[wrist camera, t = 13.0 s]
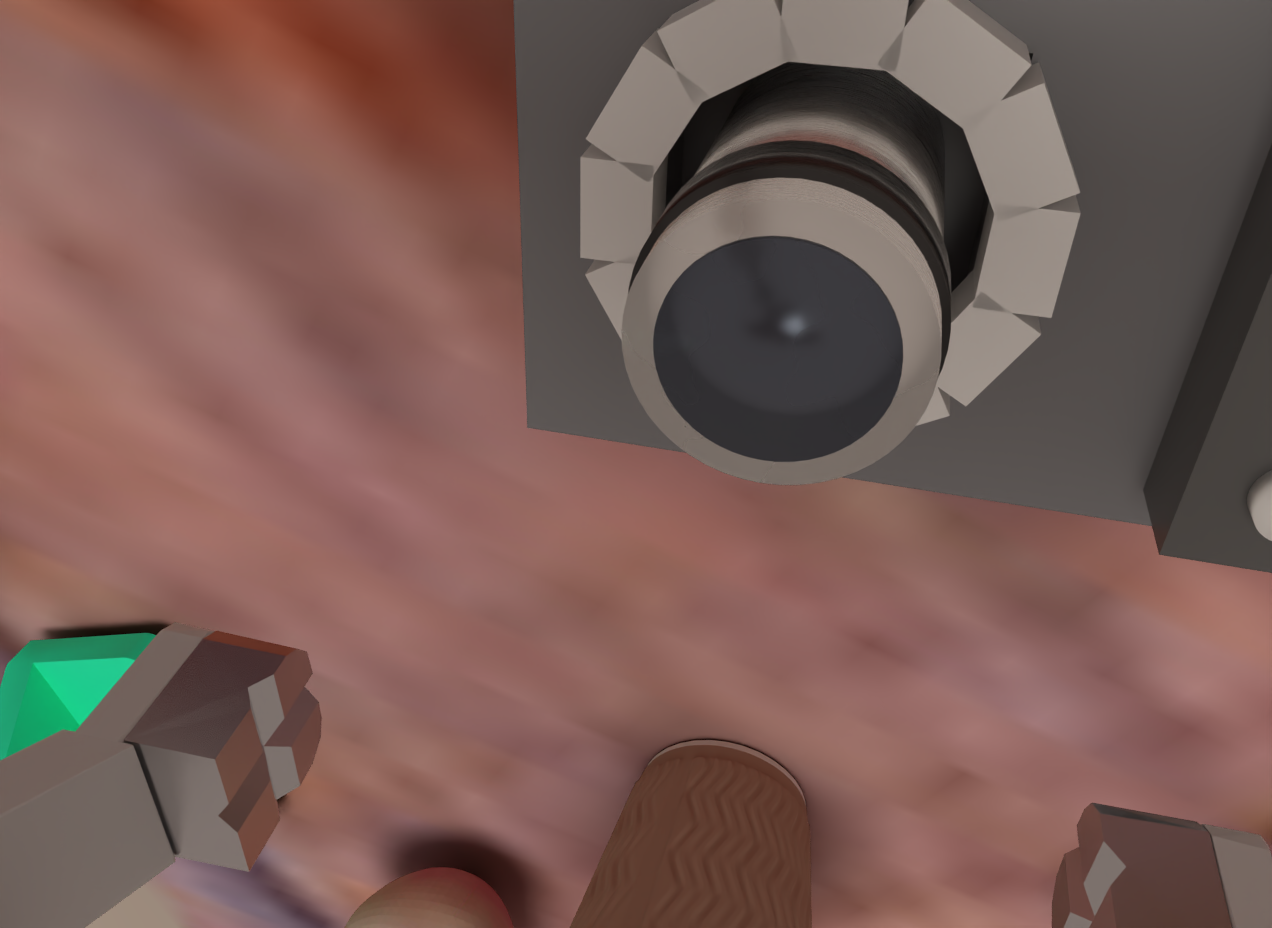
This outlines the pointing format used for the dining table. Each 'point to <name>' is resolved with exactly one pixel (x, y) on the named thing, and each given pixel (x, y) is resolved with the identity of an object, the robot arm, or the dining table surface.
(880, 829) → the dining table surface
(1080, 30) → the camera body
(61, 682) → the camera mount
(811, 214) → the lens
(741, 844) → the coffee cup
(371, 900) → the decorative fruit
